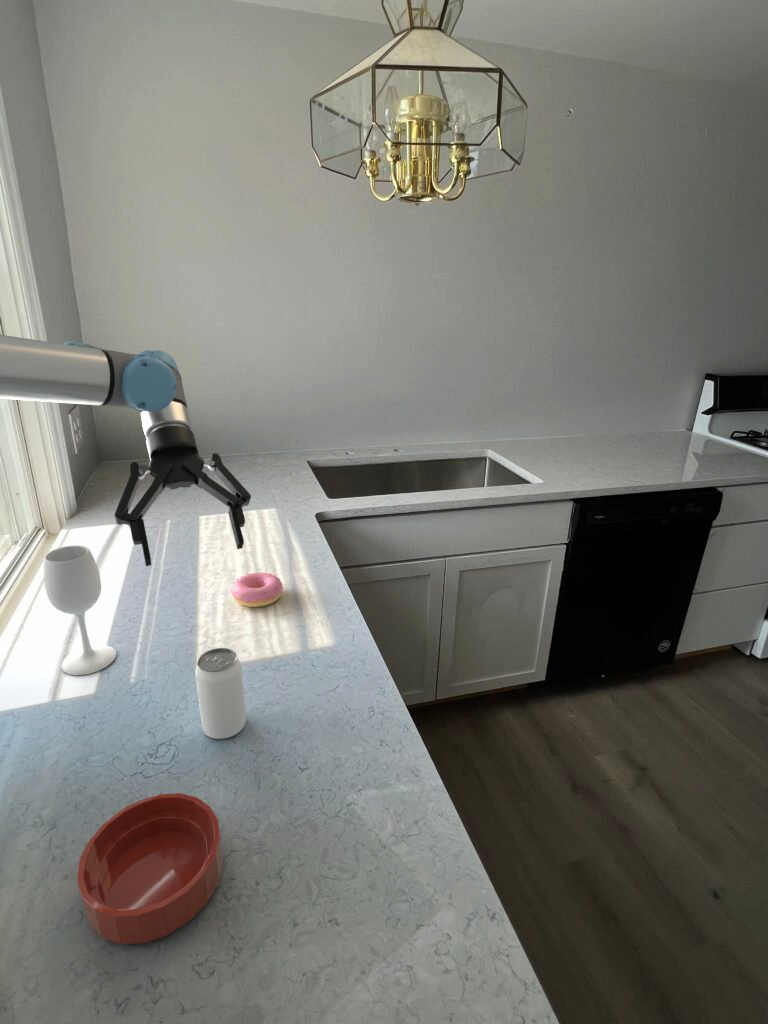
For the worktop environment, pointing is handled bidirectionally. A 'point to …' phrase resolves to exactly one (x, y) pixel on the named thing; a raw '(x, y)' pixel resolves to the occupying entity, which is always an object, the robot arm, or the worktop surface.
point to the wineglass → (76, 602)
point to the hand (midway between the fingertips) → (196, 554)
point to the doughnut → (257, 589)
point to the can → (220, 693)
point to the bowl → (150, 868)
